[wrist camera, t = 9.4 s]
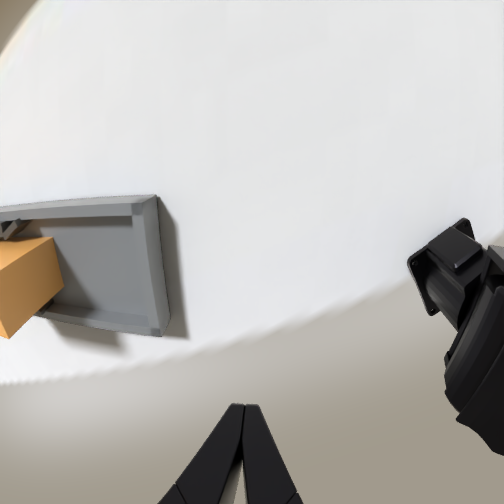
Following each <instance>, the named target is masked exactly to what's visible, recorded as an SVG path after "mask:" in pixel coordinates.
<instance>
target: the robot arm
mask: <svg viewBox="0 0 504 504" xmlns="http://www.w3.org/2000/svg"><path fill="white" fill-rule="evenodd" d="M464 223H466V224H465V226H464ZM414 260H416V261H415V263H414V264H412V262H413V261H414ZM407 264H408V267H409V269H410V271H411V273H412V276H413V278H414V281H415V283H416V285H417V288H418V290H419V293H420V295H421V298H422V300H423V303H424V306H425V308H426V311H427V313H428V314H429V315H430V316H433V315H435V314H436V313H438V312H439V311H441V312H442V313H443V314H444V315H445V317H446V318H447V319H448V320H449V321H450V323H451V324H452V325H453V327H454V328H455V329H456V330H457V332H458V333H457V336H456V338H455V340H454V342H453V344H452V346H451V348H450V350H449V351H447V353H446V355H445V357H444V361H445V366H446V370H445V375H444V378H445V384H446V390H445V395H446V396H447V398H448V400H449V402H450V404H451V405H452V406H453V407H454V408H455V409H456V411H458V412H459V413H460V414H459V415H458V416H457V418H456V421H457V422H459V423H461V424H463V425H465V426H468V427H470V428H471V429H472V430H474V431H475V432H476V433H478V434H479V436H480V437H481V438H482V439H483V440H484V441H485V443H486V444H487V445H488V446H489V448H490V449H491V450H492V451H493V452H495V453H497V454H500V455H503V456H504V247H500V246H494V245H489V246H488V249H487V250H486V249H485V248H483V247H482V245H481V244H480V243H478V242H477V241H475V237H474V234H473V230H472V227H471V223H470V221H469V220H468V219H466V218H462V219H461V220H459V221H458V222H457V223H455V224H454V225H453V226H451V227H449V228H448V229H446V230H445V231H444V232H442V233H441V234H440V235H438V236H437V237H436V238H434V239H433V240H431V241H430V242H429V243H428V244H427V245H426V246H424V247H423V248H422V249H420V250H419V251H417V252H416V253H414V254H413V255H412V256H410V257H409V259H408V261H407ZM432 309H433V310H432ZM431 310H432V311H431ZM242 460H243V476H244V488H245V498H246V504H303V502H302V500H301V498H300V496H299V494H298V493H296V492H297V490H296V488H295V485H294V483H293V481H292V479H291V477H290V475H289V473H288V471H287V468H286V466H285V464H284V462H283V460H282V457H281V455H280V453H279V451H278V449H277V446H276V444H275V442H274V439H273V437H272V435H271V433H270V430H269V428H268V426H267V423H266V421H265V419H264V416H263V414H262V412H261V409H260V407H259V405H257V404H246V405H244V404H238V403H237V404H236V403H232V404H231V405H230V406H229V407H228V409H227V410H226V412H225V413H224V415H223V416H222V418H221V420H220V421H219V422H218V424H217V425H216V427H215V428H214V429H213V431H212V433H211V434H210V435H209V437H208V438H207V439H206V441H205V442H204V444H203V445H202V447H201V448H200V449H199V451H198V452H197V454H196V455H195V456H194V458H193V459H192V461H191V462H190V463H189V465H188V466H187V467H186V469H185V470H184V471H183V473H182V474H181V475H180V477H179V478H178V479H177V481H176V482H175V483H176V484H173V486H172V487H171V488H170V489H169V491H168V492H167V493H166V494H165V496H164V497H163V498H162V499H161V500H160V501H159V503H158V504H233V503H234V499H235V494H236V490H237V485H238V481H239V477H240V472H241V467H242Z"/></svg>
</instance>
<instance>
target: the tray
mask: <svg viewBox="0 0 504 504" xmlns="http://www.w3.org/2000/svg"><path fill="white" fill-rule="evenodd" d="M0 237H4V239H5V240H7V239H9V238H10V237H53V241H54V246H55V250H56V255H57V259H58V263H59V268H60V272H61V275H62V279H63V283H64V287H63V288H62V289H61V290H60V291H59V292H58V293H56V294H55V295H54V296H53V297H52V298H51V299H50V300H49V301H48V302H47V303H46V304H44V305H43V306H42V307H41V308H40V309H39V310H38V311H37V312H36V313H35V314H34V316H39V317H43V318H47V319H52V320H57V321H62V322H67V323H72V324H77V325H82V326H88V327H93V328H99V329H105V330H112V331H118V332H125V333H132V334H140V335H148V336H156V337H162V335H163V333H164V331H165V329H166V327H167V325H168V323H169V321H170V319H171V317H170V311H169V305H168V298H167V291H166V284H165V277H164V269H163V260H162V252H161V242H160V232H159V221H158V209H157V195H133V196H113V197H96V198H82V199H69V200H58V201H47V202H37V203H28V204H19V205H11V206H3V207H0Z"/></svg>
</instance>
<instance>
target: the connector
mask: <svg viewBox="0 0 504 504" xmlns="http://www.w3.org/2000/svg"><path fill="white" fill-rule="evenodd" d="M63 287H64V283H63V279H62V275H61V272H60V268H59V263H58V259H57V255H56V250H55V246H54V241H53V237H10V238H9V239H7V240H5V239H4V237H0V336H2V337H4V338H7V339H10V338H11V337H12V336H13V335H14V334H15V333H16V332H17V331H18V330H19V329H20V328H21V327H22V326H23V325H24V324H25V323H26V322H27V321H28V320H29V319H30V318H31V317H32V316H33V315H34V314H35V313H36V312H37V311H38V310H39V309H40V308H41V307H42V306H43V305H44V304H46V303H47V302H48V301H49V300H50V299H51V298H52V297H53V296H54V295H55V294H56V293H58V292H59V291H60V290H61V289H62V288H63Z"/></svg>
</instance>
